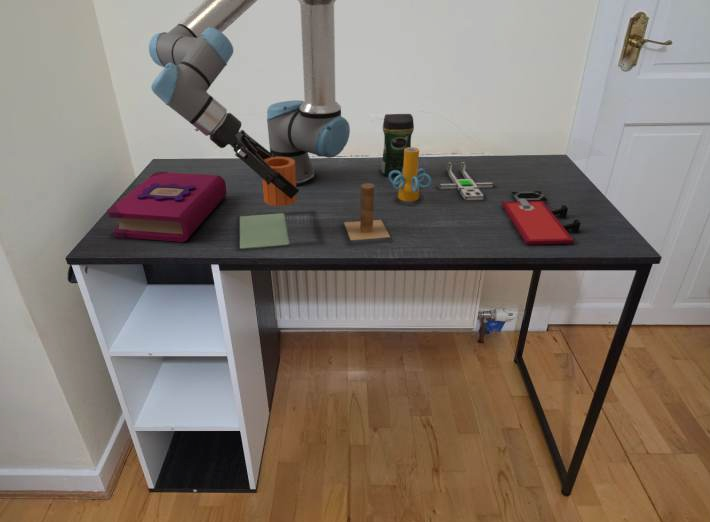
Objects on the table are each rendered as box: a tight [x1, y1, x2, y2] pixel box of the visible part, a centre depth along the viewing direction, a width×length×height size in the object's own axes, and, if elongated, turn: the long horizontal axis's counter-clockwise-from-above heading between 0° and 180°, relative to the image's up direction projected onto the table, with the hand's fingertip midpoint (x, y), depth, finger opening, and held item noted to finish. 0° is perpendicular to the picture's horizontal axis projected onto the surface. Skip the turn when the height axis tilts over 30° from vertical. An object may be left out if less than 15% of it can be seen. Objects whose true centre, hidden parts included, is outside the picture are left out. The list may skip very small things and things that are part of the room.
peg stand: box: [343, 182, 391, 241], centre depth 129 cm, size 10×10×13 cm
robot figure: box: [438, 161, 495, 201], centre depth 158 cm, size 16×3×22 cm
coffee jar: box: [380, 113, 415, 177], centre depth 163 cm, size 10×8×19 cm
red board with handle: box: [501, 190, 582, 246], centre depth 139 cm, size 30×3×15 cm
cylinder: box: [388, 146, 432, 202], centre depth 146 cm, size 12×10×15 cm
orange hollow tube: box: [261, 157, 298, 207], centre depth 126 cm, size 8×8×10 cm
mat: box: [239, 212, 290, 250], centre depth 135 cm, size 18×20×1 cm
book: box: [106, 171, 227, 243], centre depth 140 cm, size 21×28×8 cm
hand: (293, 187), depth 127 cm, fingers closed on orange hollow tube, 8 cm apart
